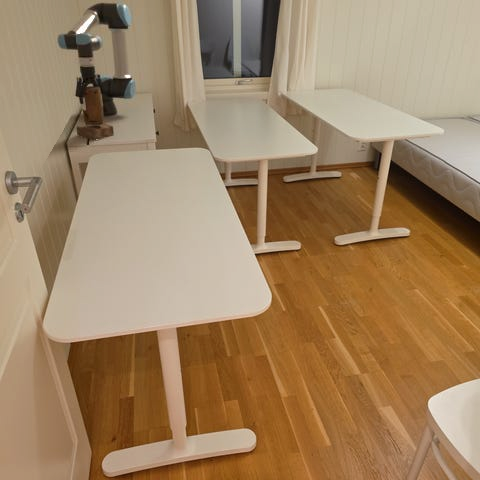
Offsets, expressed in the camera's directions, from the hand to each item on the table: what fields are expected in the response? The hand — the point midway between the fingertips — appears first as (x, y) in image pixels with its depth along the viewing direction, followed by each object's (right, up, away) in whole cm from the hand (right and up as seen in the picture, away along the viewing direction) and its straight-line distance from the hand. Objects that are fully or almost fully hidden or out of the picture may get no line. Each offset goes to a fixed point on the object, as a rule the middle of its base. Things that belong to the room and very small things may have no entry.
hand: (92, 107), depth 247 cm
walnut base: (-1, -13, +8) cm, 15 cm away
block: (0, -8, +4) cm, 9 cm away
